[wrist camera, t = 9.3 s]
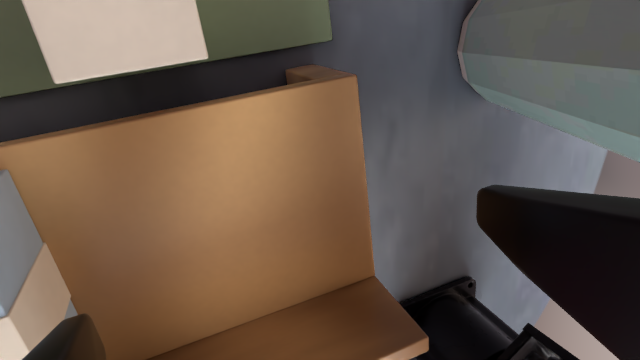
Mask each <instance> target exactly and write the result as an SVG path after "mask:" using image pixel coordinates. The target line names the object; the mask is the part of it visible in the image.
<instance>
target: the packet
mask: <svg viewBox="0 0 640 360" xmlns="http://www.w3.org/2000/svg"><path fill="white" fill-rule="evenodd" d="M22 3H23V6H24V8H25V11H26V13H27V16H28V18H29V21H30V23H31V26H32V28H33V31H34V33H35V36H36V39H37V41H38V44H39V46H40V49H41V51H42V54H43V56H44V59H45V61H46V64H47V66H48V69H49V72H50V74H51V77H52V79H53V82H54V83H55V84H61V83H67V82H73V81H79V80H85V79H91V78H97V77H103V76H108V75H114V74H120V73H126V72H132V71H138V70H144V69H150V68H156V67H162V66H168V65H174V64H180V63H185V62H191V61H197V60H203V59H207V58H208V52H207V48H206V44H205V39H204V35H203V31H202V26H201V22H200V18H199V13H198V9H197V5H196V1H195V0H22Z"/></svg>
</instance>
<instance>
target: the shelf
mask: <svg viewBox="0 0 640 360" xmlns="http://www.w3.org/2000/svg"><path fill="white" fill-rule="evenodd" d="M285 72H286V79H287V85H285V86H280V87H275V88H270V89H265V90H260V91H255V92H250V93H245V94H240V95H235V96H230V97H225V98H220V99H215V100H210V101H205V102H200V103H195V104H190V105H185V106H180V107H175V108H170V109H165V110H160V111H155V112H150V113H145V114H140V115H135V116H130V117H125V118H120V119H116V120H111V121H106V122H101V123H96V124H91V125H86V126H81V127H76V128H71V129H66V130H61V131H56V132H51V133H46V134H41V135H36V136H31V137H26V138H21V139H16V140H11V141H6V142H1V143H0V170H5V169H7V170H8V171H9V173H10V176H11V178H12V180H13V182H14V184H15V186H16V188H17V190H18V192H19V194H20V196H21V198H22V200H23V202H24V204H25V206H26V209H27V211H28V213H29V215H30V217H31V219H32V221H33V223H34V225H35V227H36V229H37V231H38V233H39V235H40V237H41V239H42V242H43V243H44V242H45V243H46V245H47V247H48V249H49V251H50V253H51V255H52V257H53V259H54V261H55V263H56V265H57V267H58V269H59V272H60V274H61V276H62V278H63V280H64V282H65V284H66V286H67V288H68V290H69V292H70V294H71V298H70V299H71V301H72V303H73V305H74V308H75V310H76V312H77V314H78V315H80V314H83V313H86V314H88V315H89V316H90V317H91V318H92V320H93V322H94V325H95V327H96V329H97V331H98V334H99V336H100V338H101V340H102V342H103V345H104V348H105V352H106V360H409V359H411V358H414V357H416V356H418V355H420V354H423V353H425V352H427V351H428V350H429V338H428V336H427V335H426V334H425V332H424V331H423V330H422V329H421V328H420V327H419V326H418V325H417V323H416V322H415V321H414V320H413V319H412V318H411V317H410V315H409V314H408V313H407V312H406V311H405V310H404V309H403V307H402V306H401V305H400V304H399V303H398V302H397V301H396V299H395V298H394V297H393V296H392V295H391V294H390V293H389V292H388V290H387V289H386V288H385V287H384V286H383V285H382V284H381V282H380V281H379V280H378V279H377V278H376V277H375V276H374V275H375V271H374V260H373V249H372V238H371V226H370V215H369V204H368V193H367V182H366V171H365V159H364V148H363V137H362V126H361V115H360V103H359V92H358V81H357V75H355V74H351V73H347V72H343V71H339V70H335V69H331V68H327V67H323V66H319V65H314V64H311V65H306V66H301V67H296V68H290V69H286V71H285Z"/></svg>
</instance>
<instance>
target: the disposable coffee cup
mask: <svg viewBox="0 0 640 360" xmlns="http://www.w3.org/2000/svg"><path fill="white" fill-rule="evenodd" d="M457 53H458V57H459V62H460V67H461V71H462V76H463V78H464V79H465V80H466V81H467V82H468V83H469V84H470V85H471V86H472V87H473V89H474V90H475V91H476V92H477V93H479V94H480V95H481V96H482V97H483V98H484V99H485V100H487V101H489V102H492V103H494V104H497V105H499V106H502V107H504V108H507V109H509V110H512V111H514V112H517V113H519V114H521V115H524V116H526V117H529V118H531V119H534V120H536V121H539V122H541V123H544V124H546V125H548V126H551V127H553V128H556V129H558V130H561V131H563V132H566V133H568V134H571V135H573V136H576V137H578V138H580V139H583V140H585V141H588V142H590V143H593V144H595V145H598V146H600V147H603V148H605V149H608V150H610V151H612V152H615V153H617V154H620V155H622V156H625V157H627V158H630V159H632V160H635V161H637V162H640V0H478V1H477V2H476V4H475V5H474V7H473V8H472V10H471V11H470V13H469V14H468V16H467V17H466V19H465V20H464V21H463V26H462V31H461V35H460V40H459V45H458V50H457Z"/></svg>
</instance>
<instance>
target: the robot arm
mask: <svg viewBox="0 0 640 360" xmlns="http://www.w3.org/2000/svg"><path fill="white" fill-rule="evenodd" d="M476 218H477V223H478V225H479V227H480V228H481V229H482V230H483V231H484V232H485V233H486V235H487V236H488V237H489V238H490V239H491V240H492V241H493V242H494V243H495V244H496V245H497V246H498V247H499V249H500V250H501V251H502V252H503V253H504V254H505V255H506V256H507V257H508V258H509V259H510V260H511V261H512V263H513V264H514V265H515V266H516V267H517V268H518V269H519V270H520V271H521V272H522V273H523V274H525V275H526V276H527V277H528V278H529V279H530V280H531V281H532V282H533V283H534V284H536V285H537V286H538V287H539V288H540V289H541V290H542V291H543V292H545V293H546V294H547V295H548V296H549V297H550V298H551V299H552V300H553V301H555V302H556V303H557V304H558V305H559V306H560V307H562V309H564V310H565V311H566V312H567V313H568V314H569V315H570V316H571V317H572V318H574V319H575V320H576V321H577V322H578V323H579V324H580V325H581V326H583V327H584V328H585V329H586V330H587V331H588V332H589V333H590V334H592V335H593V336H594V337H595V338H596V339H597V340H598V341H599V342H600V343H602V344H603V345H604V346H605V347H606V348H607V349H608V350H609V351H610V352H612V353H613V354H614V355H615V356H616V357H617V358H618V359H619V360H640V199H639V198H628V197H618V196H607V195H597V194H587V193H577V192H566V191H556V190H545V189H535V188H525V187H514V186H504V185H491V186H487V187H484V188H481V189H480V190H479V191H478V193H477V215H476ZM475 291H476V281H475V280H474V279H473V278H471V277H469V276H468V277H465V278H463V279H460V280H458V281H455V282H453V283H450V284H448V285H445V286H443V287H440V288H437V289H435V290H432V291H430V292H427V293H425V294H422V295H420V296H417V297H415V298H412V299H410V300H407V301H405V302H403V303H401V304H400V305H401V306H402V307H403V309H404V310H405V311H406V312H407V313H408V314H409V315H410V317H411V318H412V319H413V320H414V321H415V322H416V323H417V325H418V326H419V327H420V328H421V329H422V330H423V331H424V332H425V334H426V335H427V336H428V338H429V350H428V351H427V352H425V353H423V354H420V355H418V356H416V357H414V358H411V359H409V360H579V359H578V358H576V357H575V356H574V355H572V354H571V353H569V352H568V351H567V350H565V349H564V348H563V347H561V346H560V345H558V344H557V343H555V342H554V341H553V340H551V339H550V338H549V337H547V336H546V335H544V334H543V333H542V332H540V331H539V330H537V329H536V328H535V327H533V326H532V325H531V324H529V323H528V324H527V325H526V326H525V327H524V328H523V331H522V332H521V333H520V334H519V335H518V334H517V333H516V332H515V331H514V330H512V329H511V328H510V327H509V326H508V325H507V324H505V323H504V322H503V321H502V320H501V319H500V318H498V317H497V316H496V315H495V314H494V313H492V312H491V311H490V310H489V309H488V308H487V307H485V306H484V305H483V304H482V303H481V302H480V301H478V300H477V299H476V298H475ZM22 360H106V352H105V348H104V345H103V342H102V340H101V338H100V336H99V334H98V331H97V329H96V327H95V325H94V322H93V320H92V318H91V317H90V316H89V315H88V314H86V313H83V314H80V315H76V316H73V317H70V318H67V319H64V320H62V321H61V322H60V323H59V324H58V325H57V326H56V327H55V328H54V329H53V330H52V331H51V332H50V333H49V334H48V335H47V336H46V337H45V338H44V339H43V340H42V341H41V342H39V343H38V344H37V345H36V346H35V347H34V348H33V349H32V350H31V351H30V352H29V353H28V354H27V355H26V356H25V357H24V358H23V359H22Z"/></svg>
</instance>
